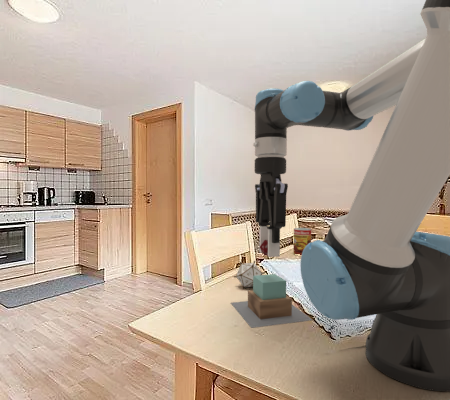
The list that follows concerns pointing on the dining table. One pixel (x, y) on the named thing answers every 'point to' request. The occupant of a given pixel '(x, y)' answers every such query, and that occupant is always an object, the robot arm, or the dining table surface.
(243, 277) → the game die
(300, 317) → the mat
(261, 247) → the dice
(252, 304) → the base block
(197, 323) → the dining table surface
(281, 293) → the mid block
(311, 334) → the dining table surface
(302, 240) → the canned food
